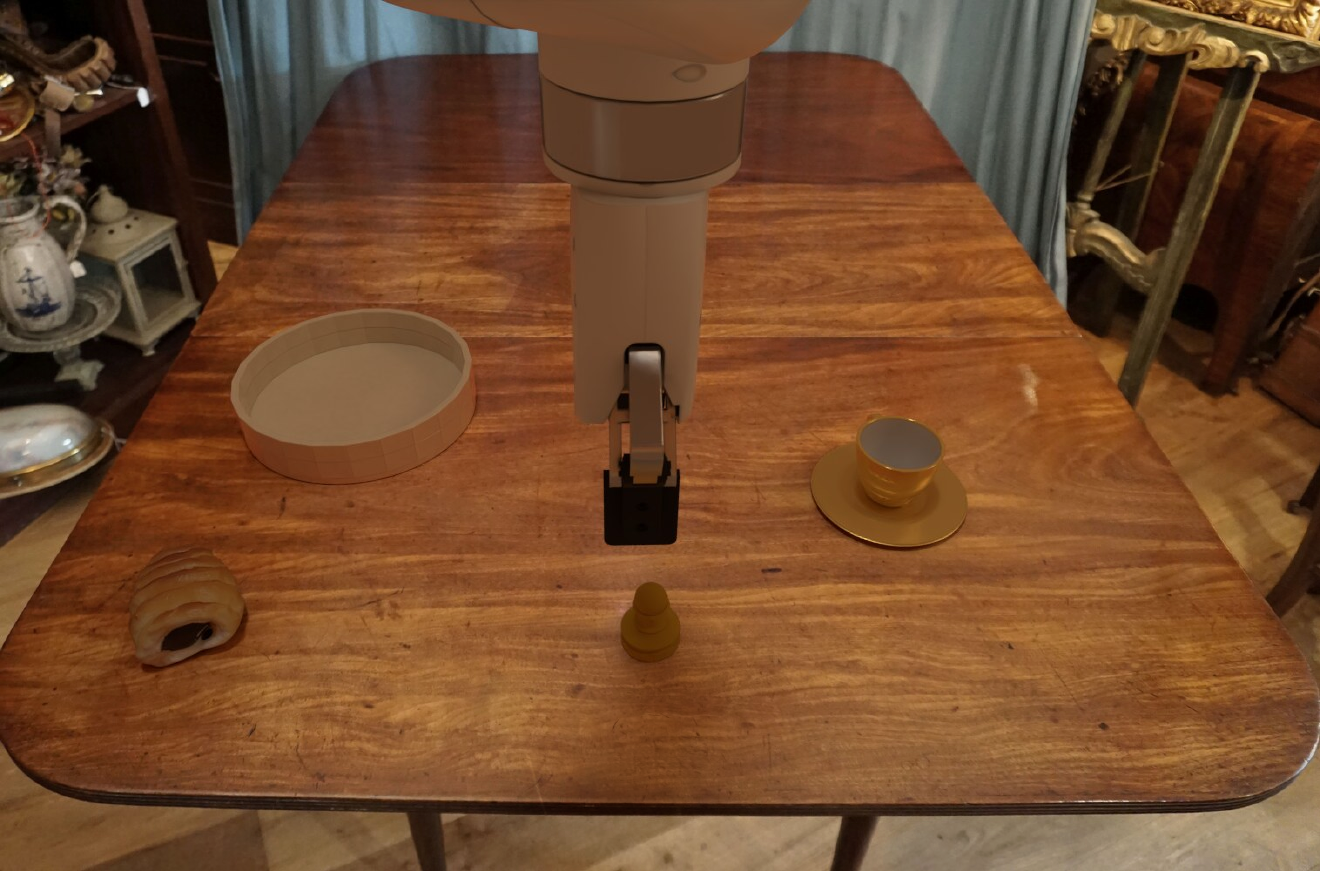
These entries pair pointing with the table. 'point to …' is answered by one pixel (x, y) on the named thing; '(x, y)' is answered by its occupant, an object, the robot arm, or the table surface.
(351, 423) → the bowl
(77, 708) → the table surface
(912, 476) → the cup
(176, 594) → the pastry
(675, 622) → the chess piece
